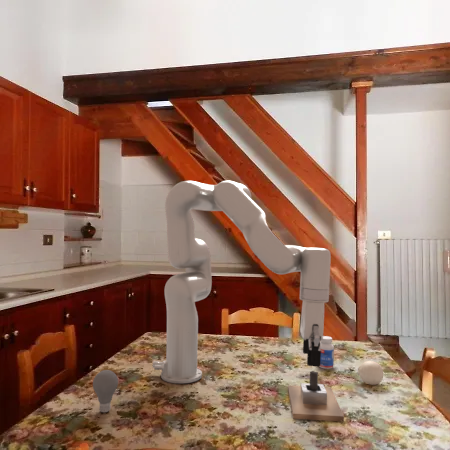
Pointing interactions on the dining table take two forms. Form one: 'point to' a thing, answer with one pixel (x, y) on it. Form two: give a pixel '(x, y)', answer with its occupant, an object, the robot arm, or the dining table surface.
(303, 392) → the link
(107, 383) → the light bulb
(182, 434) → the dining table surface
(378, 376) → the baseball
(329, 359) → the pill bottle
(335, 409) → the peg on tan base
